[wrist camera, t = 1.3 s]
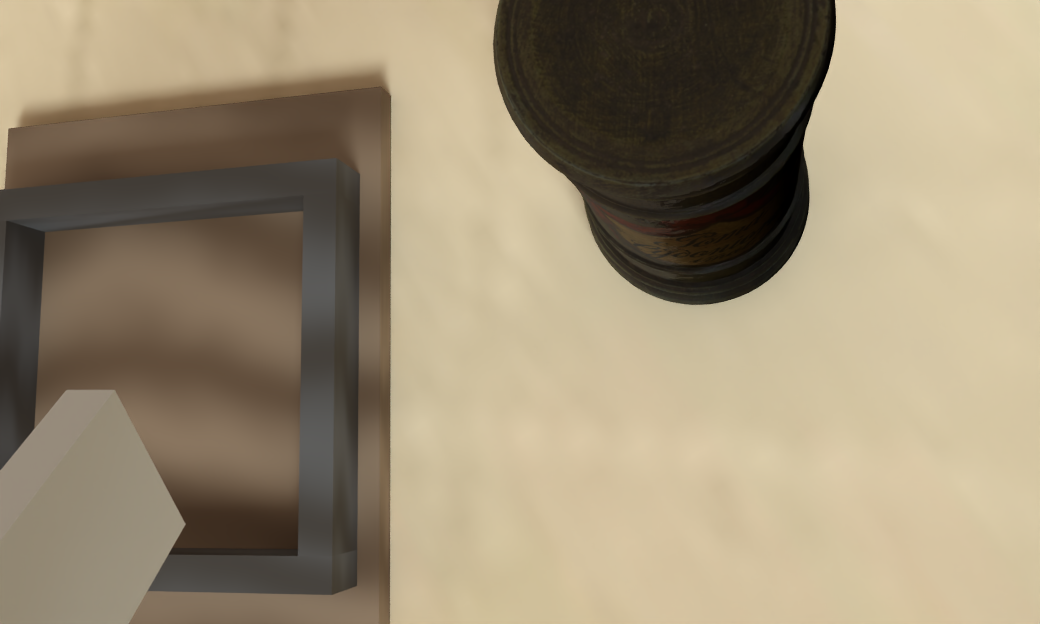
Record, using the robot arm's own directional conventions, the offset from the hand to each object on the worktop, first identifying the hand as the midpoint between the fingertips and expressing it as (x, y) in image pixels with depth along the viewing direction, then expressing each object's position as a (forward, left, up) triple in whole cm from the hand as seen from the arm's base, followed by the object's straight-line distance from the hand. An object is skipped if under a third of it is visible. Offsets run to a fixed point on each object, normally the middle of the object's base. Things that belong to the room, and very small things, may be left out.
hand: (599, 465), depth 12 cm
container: (+9, -5, -28) cm, 30 cm away
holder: (+15, +19, -28) cm, 37 cm away
